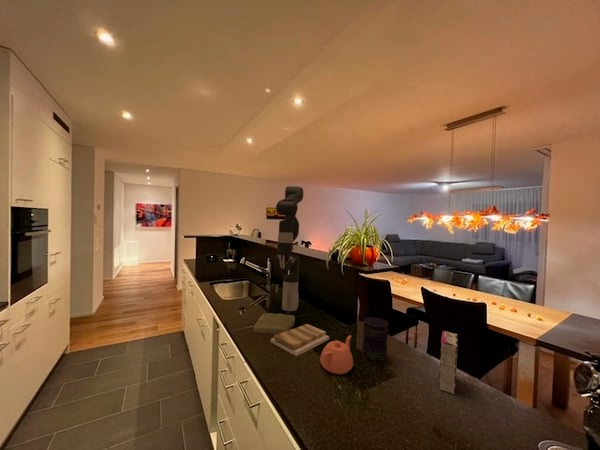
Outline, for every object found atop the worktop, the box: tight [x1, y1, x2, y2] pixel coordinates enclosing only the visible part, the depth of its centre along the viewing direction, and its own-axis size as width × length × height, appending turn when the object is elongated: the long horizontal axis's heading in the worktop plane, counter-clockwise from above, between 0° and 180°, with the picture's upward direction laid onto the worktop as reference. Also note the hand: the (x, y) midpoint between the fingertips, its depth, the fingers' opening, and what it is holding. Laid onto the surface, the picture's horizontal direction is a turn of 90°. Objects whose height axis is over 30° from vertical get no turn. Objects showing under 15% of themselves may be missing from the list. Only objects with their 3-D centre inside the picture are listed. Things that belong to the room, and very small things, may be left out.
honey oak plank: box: [273, 327, 317, 349], centre depth 114 cm, size 15×12×2 cm
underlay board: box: [270, 334, 330, 357], centre depth 116 cm, size 22×16×2 cm
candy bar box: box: [438, 330, 459, 395], centre depth 89 cm, size 11×5×16 cm, turn 148°
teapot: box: [319, 334, 354, 375], centre depth 98 cm, size 12×18×10 cm
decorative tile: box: [252, 312, 296, 335], centre depth 132 cm, size 19×20×4 cm
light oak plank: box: [297, 323, 327, 339], centre depth 122 cm, size 7×12×2 cm, turn 47°
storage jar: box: [361, 316, 389, 365], centre depth 105 cm, size 10×10×15 cm
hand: (283, 275), depth 128 cm, fingers closed
